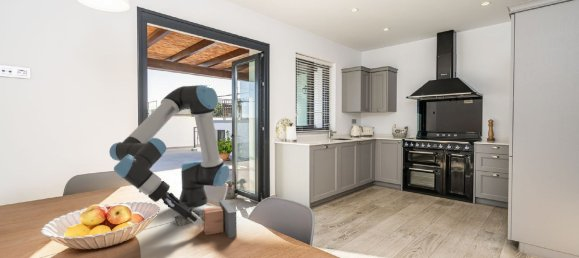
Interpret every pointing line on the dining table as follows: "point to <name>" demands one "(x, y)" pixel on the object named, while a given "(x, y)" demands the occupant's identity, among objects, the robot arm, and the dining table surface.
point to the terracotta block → (213, 220)
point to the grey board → (229, 219)
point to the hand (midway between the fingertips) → (201, 223)
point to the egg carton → (182, 220)
